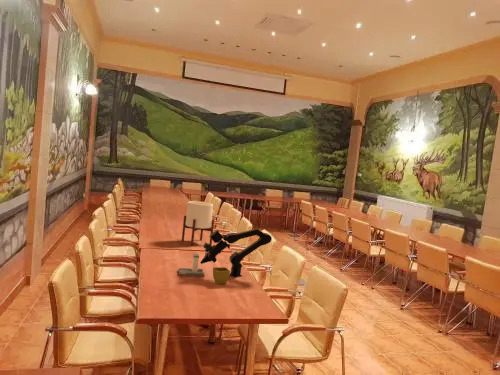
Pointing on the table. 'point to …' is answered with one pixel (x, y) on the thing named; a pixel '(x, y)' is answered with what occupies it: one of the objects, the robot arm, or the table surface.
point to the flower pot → (221, 275)
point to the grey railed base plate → (190, 272)
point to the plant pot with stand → (198, 218)
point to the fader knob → (195, 262)
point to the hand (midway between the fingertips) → (200, 263)
